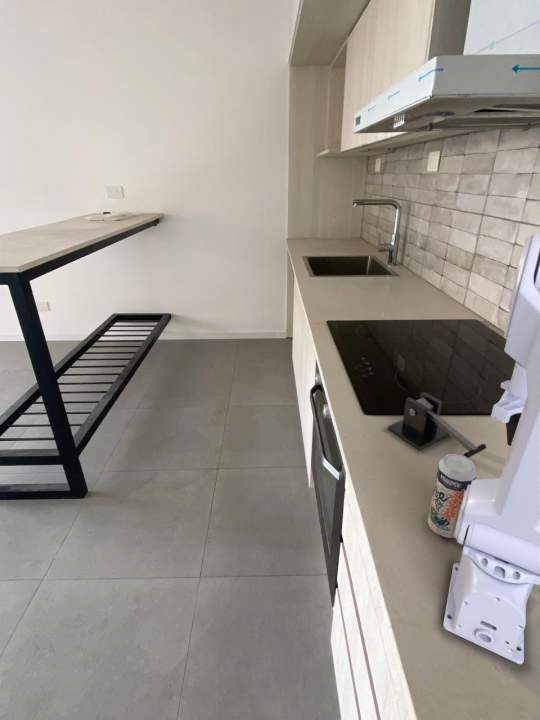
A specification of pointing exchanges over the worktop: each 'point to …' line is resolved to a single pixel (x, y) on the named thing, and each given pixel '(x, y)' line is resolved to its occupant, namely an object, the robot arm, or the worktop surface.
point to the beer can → (450, 493)
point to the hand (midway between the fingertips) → (516, 446)
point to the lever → (452, 430)
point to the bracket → (419, 424)
